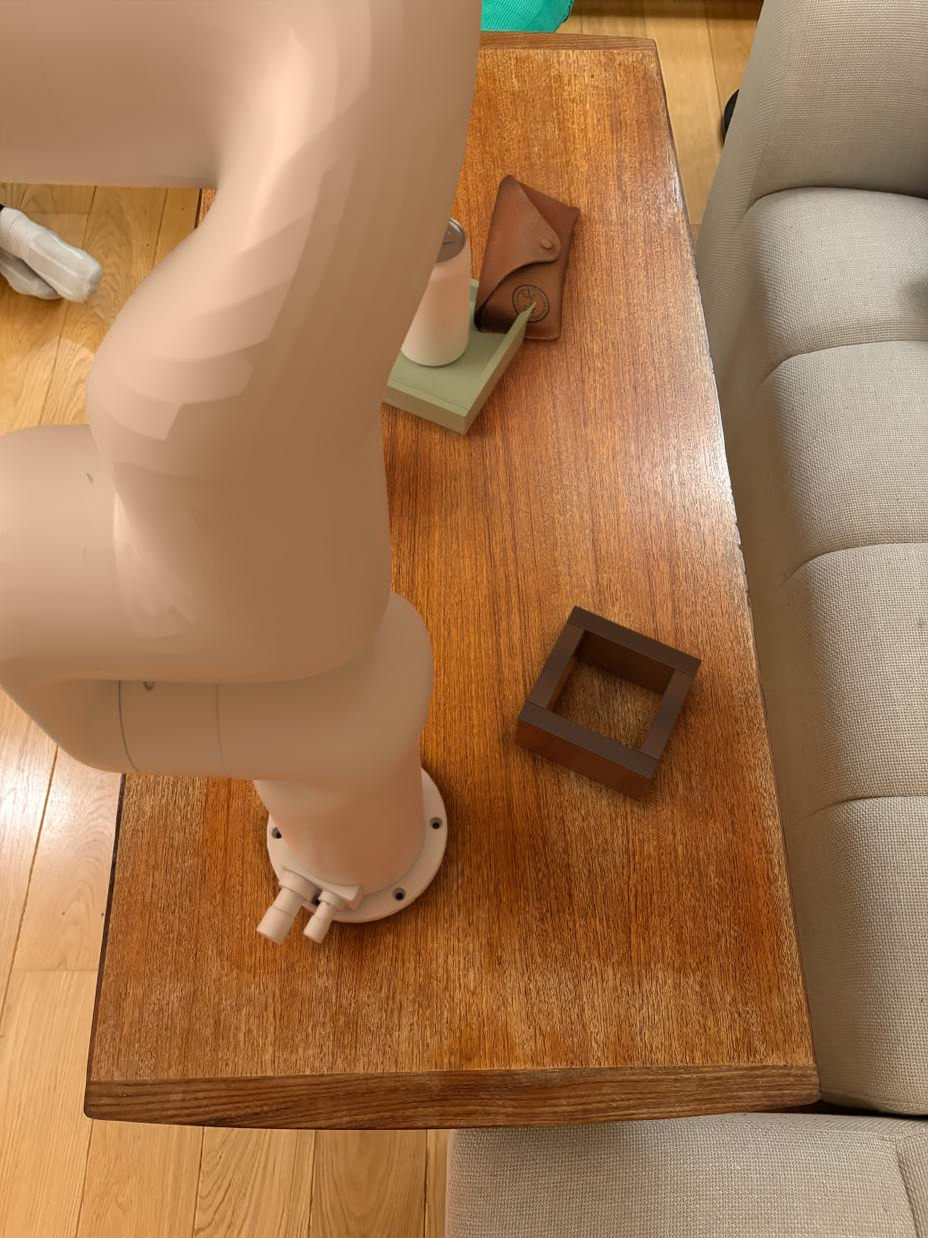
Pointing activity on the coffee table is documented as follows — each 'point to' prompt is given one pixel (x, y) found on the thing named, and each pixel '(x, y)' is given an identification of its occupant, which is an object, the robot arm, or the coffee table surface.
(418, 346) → the can
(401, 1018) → the coffee table surface
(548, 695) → the frame
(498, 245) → the sunglasses case
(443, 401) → the tray
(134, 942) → the coffee table surface
